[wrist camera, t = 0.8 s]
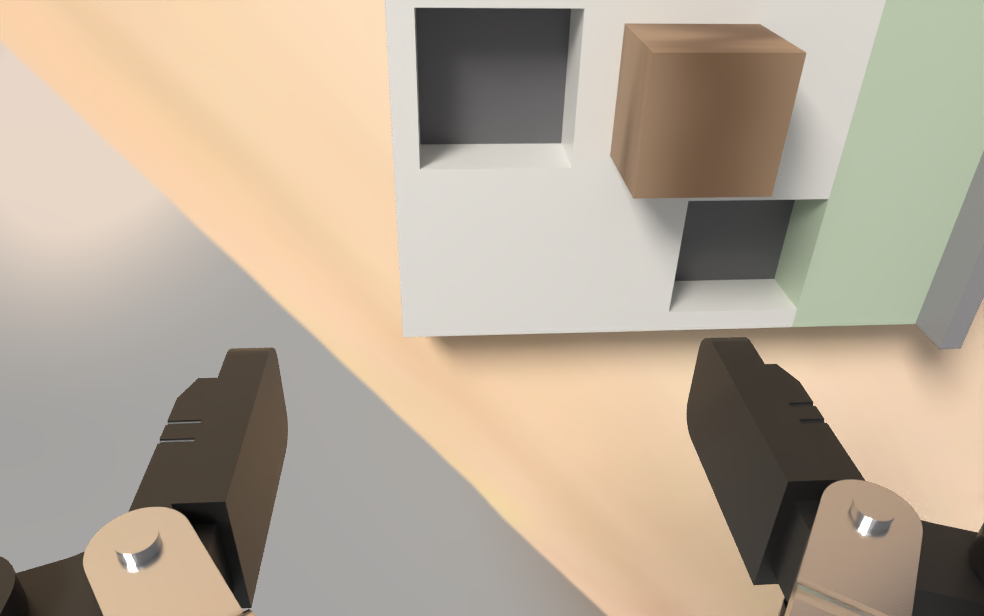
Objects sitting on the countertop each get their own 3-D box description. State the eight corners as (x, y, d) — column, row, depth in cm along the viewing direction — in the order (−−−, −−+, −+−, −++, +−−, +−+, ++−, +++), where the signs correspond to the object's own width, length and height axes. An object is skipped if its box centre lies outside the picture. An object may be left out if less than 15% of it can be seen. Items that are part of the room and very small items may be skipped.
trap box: (1032, -60, 29) (1132, -39, 25) (901, 290, 38) (960, 348, 34) (385, -68, 27) (378, -48, 23) (404, 301, 36) (401, 364, 32)
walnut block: (760, 24, 27) (806, 52, 24) (733, 154, 30) (771, 196, 27) (624, 23, 27) (652, 52, 24) (609, 155, 30) (633, 198, 26)
